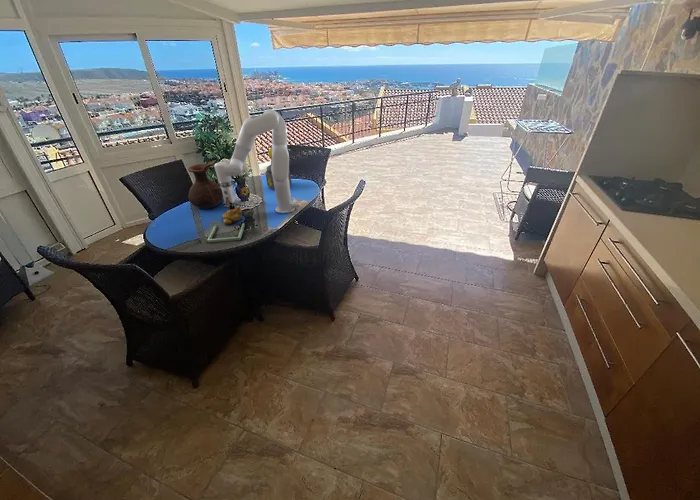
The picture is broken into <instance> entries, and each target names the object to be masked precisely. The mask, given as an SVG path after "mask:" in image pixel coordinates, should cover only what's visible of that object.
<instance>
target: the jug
mask: <svg viewBox="0 0 700 500" xmlns="http://www.w3.org/2000/svg"><path fill="white" fill-rule="evenodd" d="M215 164H216V161H214V160H212V161H210V162H208V163H207V164H206V163H197V164H194V165H190V166H189V167H188V168H187V171H188V172H189V173H193V175H194V179H195V180H194V182H193V183H192V185H191V186H190V188H189V191H188V196H187V199H188V201H189V202H190V204H191V205H192V206H194V207H197V208H198V209H203V210H206V209H207V210H209V209H212V208H214V207H217V206H218V205H219V204H220V203H221V202H222V201H223V200H224V197H223V193H222V188H220V185H219V184H217V183H216V182H215V181H213V180H211V179H209V178H208V175H207V172H208V171H209V170H210V169H211V167H214V165H215Z"/></svg>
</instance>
